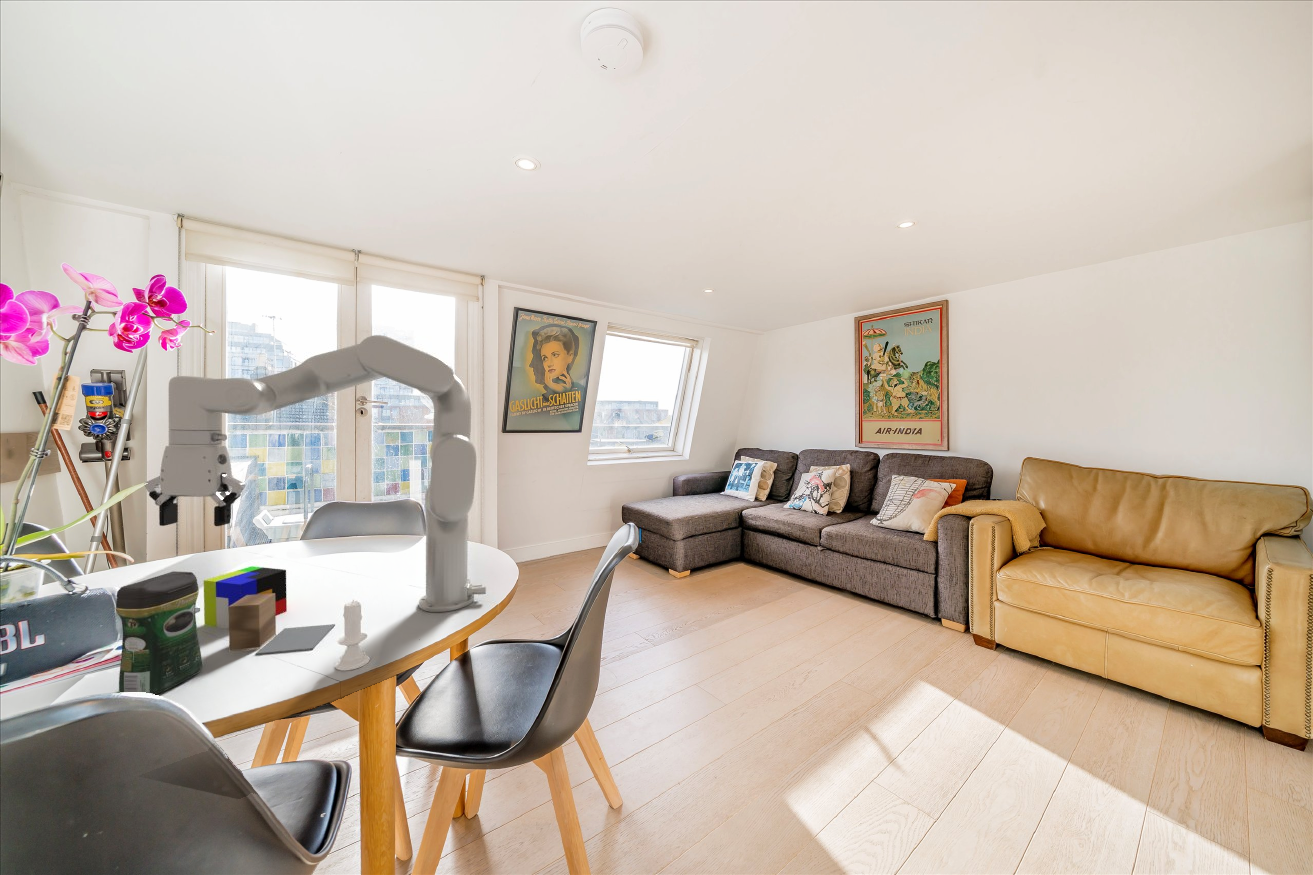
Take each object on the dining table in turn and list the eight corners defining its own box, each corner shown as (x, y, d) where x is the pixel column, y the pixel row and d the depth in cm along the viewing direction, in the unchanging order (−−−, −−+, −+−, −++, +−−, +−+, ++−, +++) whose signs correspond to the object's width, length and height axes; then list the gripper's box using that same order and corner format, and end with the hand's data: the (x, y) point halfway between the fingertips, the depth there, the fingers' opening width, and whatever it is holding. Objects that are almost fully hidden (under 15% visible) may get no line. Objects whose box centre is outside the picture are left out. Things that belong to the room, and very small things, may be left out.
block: (275, 635, 98) (275, 593, 98) (259, 649, 92) (259, 604, 92) (247, 637, 97) (246, 595, 97) (229, 651, 91) (228, 606, 91)
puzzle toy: (241, 630, 100) (240, 584, 100) (204, 625, 102) (203, 580, 102) (286, 611, 110) (286, 569, 110) (252, 607, 112) (251, 566, 112)
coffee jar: (170, 667, 85) (168, 566, 85) (211, 669, 85) (209, 568, 84) (105, 698, 76) (101, 585, 75) (151, 701, 75) (148, 587, 74)
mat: (335, 625, 103) (335, 624, 103) (312, 649, 93) (312, 648, 93) (284, 629, 101) (284, 628, 101) (255, 654, 90) (255, 653, 90)
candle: (346, 656, 90) (346, 595, 90) (375, 656, 91) (374, 595, 90) (329, 671, 85) (328, 606, 84) (359, 671, 85) (358, 606, 85)
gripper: (257, 439, 97) (256, 521, 98) (164, 437, 95) (164, 520, 96) (228, 441, 90) (228, 529, 91) (127, 438, 88) (128, 528, 89)
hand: (195, 524), depth 93 cm, fingers open, 9 cm apart
